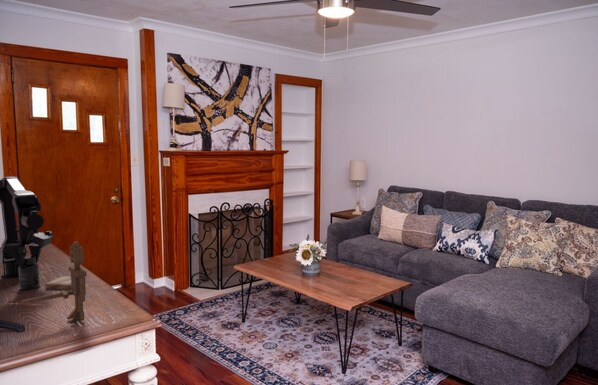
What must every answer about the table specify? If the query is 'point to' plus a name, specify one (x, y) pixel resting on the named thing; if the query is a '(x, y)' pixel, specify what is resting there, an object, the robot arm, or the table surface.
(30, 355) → the table surface
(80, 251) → the wooden figure
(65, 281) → the beige flat block
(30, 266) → the supplement bottle
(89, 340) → the table surface
